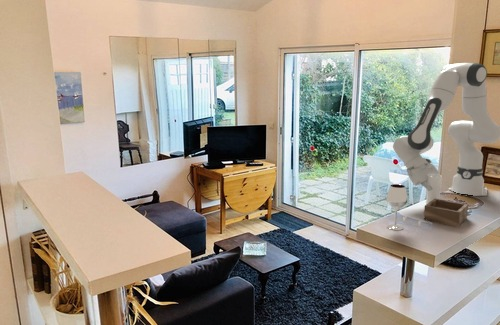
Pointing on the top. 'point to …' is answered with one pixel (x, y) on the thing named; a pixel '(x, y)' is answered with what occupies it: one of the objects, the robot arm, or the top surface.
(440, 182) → the white rectangular block
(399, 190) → the wineglass
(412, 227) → the top surface
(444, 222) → the walnut crate
